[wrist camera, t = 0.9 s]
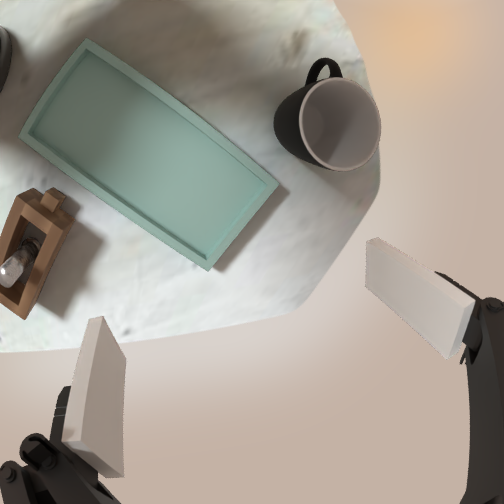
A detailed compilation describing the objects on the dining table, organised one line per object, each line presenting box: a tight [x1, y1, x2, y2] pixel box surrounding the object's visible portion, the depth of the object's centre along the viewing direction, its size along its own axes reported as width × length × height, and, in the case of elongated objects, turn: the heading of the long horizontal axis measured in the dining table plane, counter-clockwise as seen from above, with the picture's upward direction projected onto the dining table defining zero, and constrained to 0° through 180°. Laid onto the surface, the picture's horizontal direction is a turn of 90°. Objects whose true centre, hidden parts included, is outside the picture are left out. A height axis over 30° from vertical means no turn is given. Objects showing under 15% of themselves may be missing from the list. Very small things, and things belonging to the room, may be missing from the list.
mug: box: [274, 58, 381, 171], centre depth 28 cm, size 12×9×10 cm
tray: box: [18, 38, 280, 271], centre depth 28 cm, size 28×13×2 cm, turn 51°
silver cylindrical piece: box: [0, 237, 41, 288], centre depth 26 cm, size 3×3×8 cm
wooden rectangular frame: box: [0, 187, 75, 320], centre depth 27 cm, size 7×16×4 cm, turn 141°
